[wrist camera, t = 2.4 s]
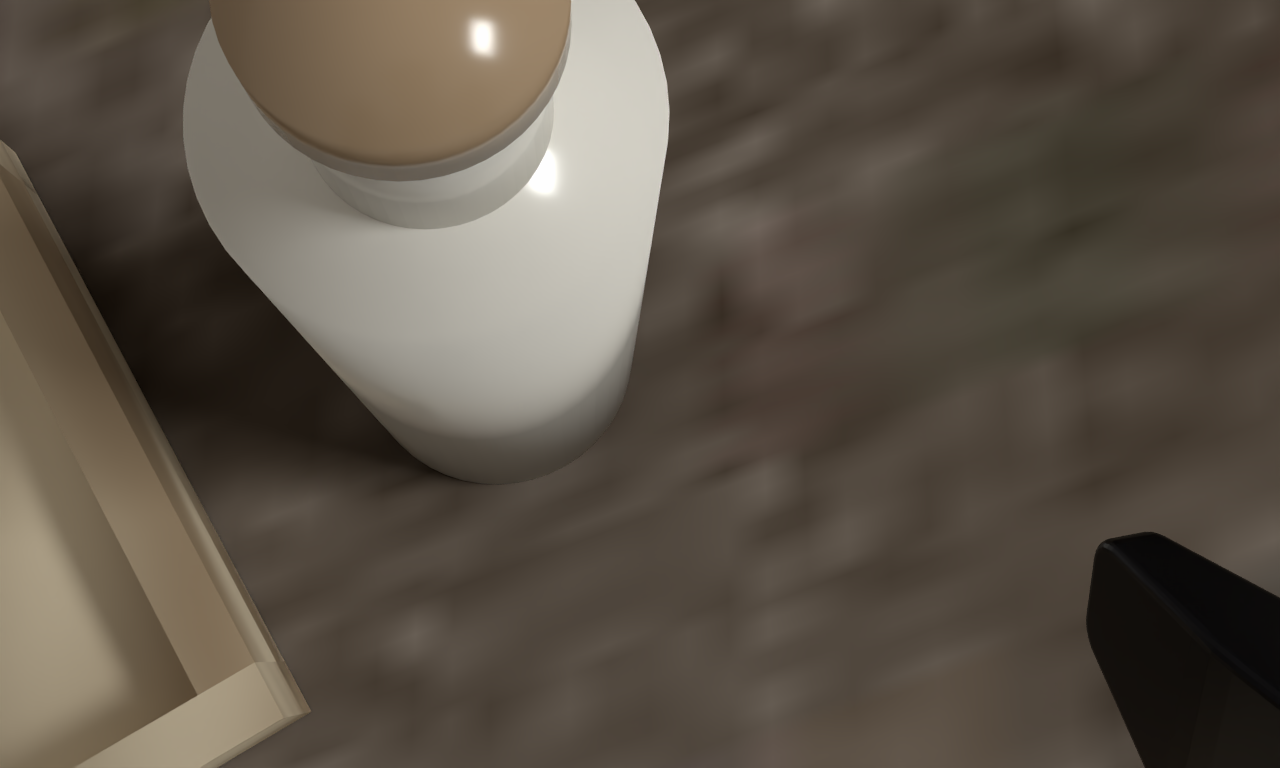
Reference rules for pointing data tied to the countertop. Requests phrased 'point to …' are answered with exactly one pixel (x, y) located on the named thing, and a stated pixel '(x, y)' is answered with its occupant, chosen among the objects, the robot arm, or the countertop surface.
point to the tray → (108, 547)
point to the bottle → (443, 206)
